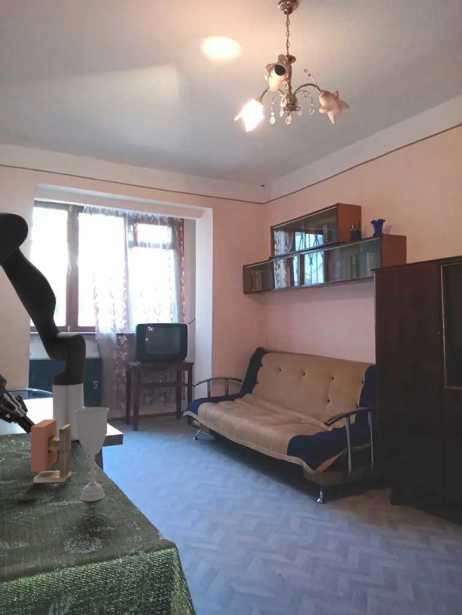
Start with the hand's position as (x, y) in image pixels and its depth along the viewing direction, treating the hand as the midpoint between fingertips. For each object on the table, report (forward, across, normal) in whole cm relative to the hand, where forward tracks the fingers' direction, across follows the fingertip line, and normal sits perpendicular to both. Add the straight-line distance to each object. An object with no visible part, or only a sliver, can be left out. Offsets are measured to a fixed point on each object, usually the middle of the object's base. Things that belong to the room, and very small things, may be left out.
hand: (33, 430), depth 108 cm
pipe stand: (+11, 0, +5) cm, 12 cm away
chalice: (+20, -12, -4) cm, 24 cm away
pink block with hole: (+8, 0, +4) cm, 9 cm away
